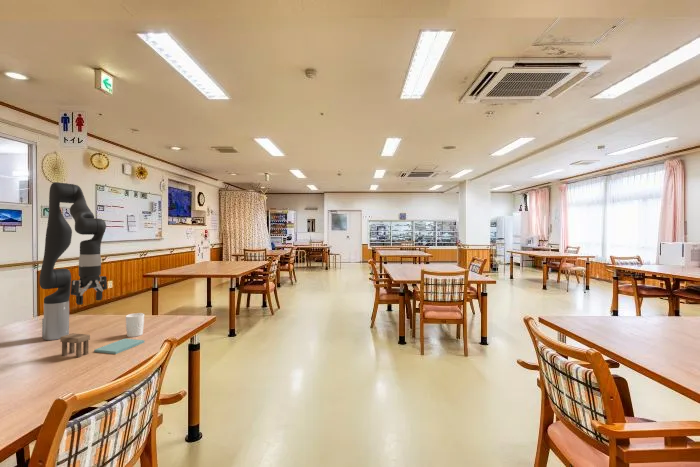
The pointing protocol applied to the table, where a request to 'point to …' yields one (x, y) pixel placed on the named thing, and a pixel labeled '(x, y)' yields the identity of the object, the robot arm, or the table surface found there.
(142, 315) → the white cup
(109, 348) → the board
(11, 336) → the table surface
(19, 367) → the table surface
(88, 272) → the robot arm
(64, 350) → the tan slab with prongs
